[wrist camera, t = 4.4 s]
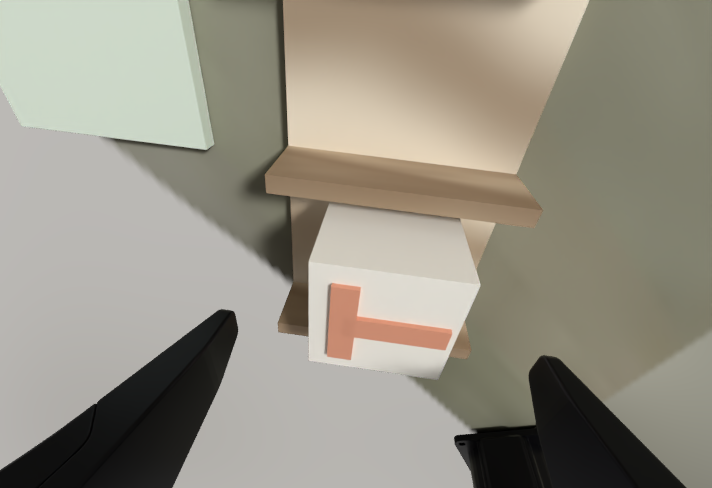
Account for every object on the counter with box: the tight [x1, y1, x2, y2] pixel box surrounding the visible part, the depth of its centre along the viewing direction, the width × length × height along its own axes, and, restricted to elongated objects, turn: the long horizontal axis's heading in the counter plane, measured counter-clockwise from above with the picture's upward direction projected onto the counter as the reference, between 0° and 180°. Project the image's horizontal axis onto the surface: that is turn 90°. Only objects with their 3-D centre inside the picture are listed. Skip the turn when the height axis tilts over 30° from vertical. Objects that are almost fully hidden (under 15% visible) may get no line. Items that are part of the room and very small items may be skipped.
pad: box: [0, 0, 214, 150], centre depth 10 cm, size 7×7×1 cm
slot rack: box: [265, 0, 589, 359], centre depth 8 cm, size 20×8×3 cm, turn 175°
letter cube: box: [309, 201, 480, 380], centre depth 11 cm, size 4×4×5 cm
